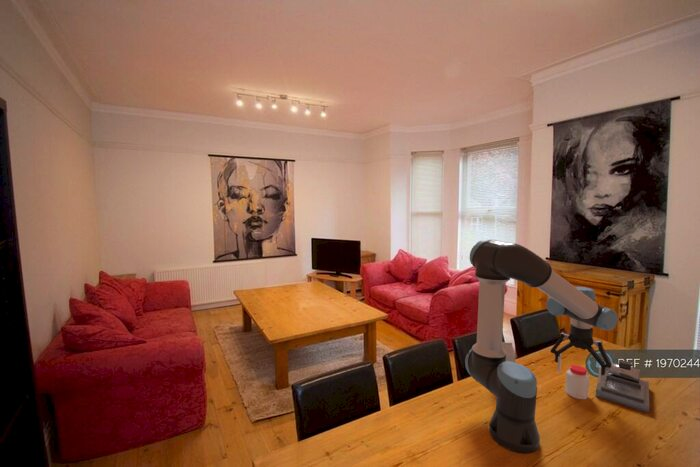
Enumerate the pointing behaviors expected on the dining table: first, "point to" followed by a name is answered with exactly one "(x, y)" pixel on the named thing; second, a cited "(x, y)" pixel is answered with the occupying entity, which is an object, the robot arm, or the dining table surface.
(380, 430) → the dining table surface
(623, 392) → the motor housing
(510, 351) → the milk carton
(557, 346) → the robot arm
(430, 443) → the dining table surface
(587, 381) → the pill bottle
